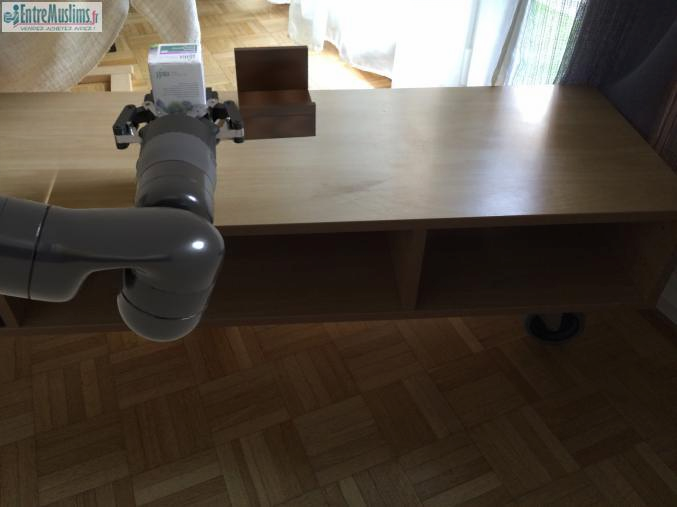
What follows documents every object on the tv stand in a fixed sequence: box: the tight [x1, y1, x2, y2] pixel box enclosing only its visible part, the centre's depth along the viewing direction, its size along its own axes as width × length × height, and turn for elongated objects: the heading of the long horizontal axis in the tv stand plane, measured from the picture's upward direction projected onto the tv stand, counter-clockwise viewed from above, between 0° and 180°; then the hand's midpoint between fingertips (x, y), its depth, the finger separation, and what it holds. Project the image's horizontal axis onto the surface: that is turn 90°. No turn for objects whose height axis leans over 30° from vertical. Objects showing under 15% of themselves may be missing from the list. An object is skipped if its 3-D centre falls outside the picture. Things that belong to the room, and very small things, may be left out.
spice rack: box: [233, 44, 317, 141], centre depth 91 cm, size 11×10×10 cm
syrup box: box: [147, 42, 206, 114], centre depth 72 cm, size 6×6×14 cm
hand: (182, 95), depth 73 cm, fingers closed on syrup box, 5 cm apart
